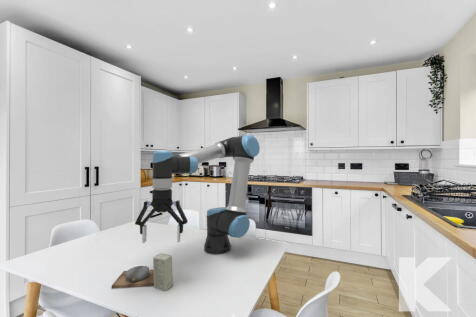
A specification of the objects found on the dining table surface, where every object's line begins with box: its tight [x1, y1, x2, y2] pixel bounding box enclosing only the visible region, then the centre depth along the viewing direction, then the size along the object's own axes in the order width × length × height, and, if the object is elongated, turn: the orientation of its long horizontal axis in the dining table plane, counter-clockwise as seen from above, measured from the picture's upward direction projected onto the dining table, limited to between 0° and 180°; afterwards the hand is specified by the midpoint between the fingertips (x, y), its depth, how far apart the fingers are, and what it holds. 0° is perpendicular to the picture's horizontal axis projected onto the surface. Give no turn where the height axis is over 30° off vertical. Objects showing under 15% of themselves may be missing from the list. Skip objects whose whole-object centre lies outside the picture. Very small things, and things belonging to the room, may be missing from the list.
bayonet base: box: [111, 265, 154, 290], centre depth 96 cm, size 16×12×4 cm
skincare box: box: [152, 253, 174, 291], centre depth 90 cm, size 6×4×12 cm
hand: (161, 241), depth 91 cm, fingers open, 13 cm apart
